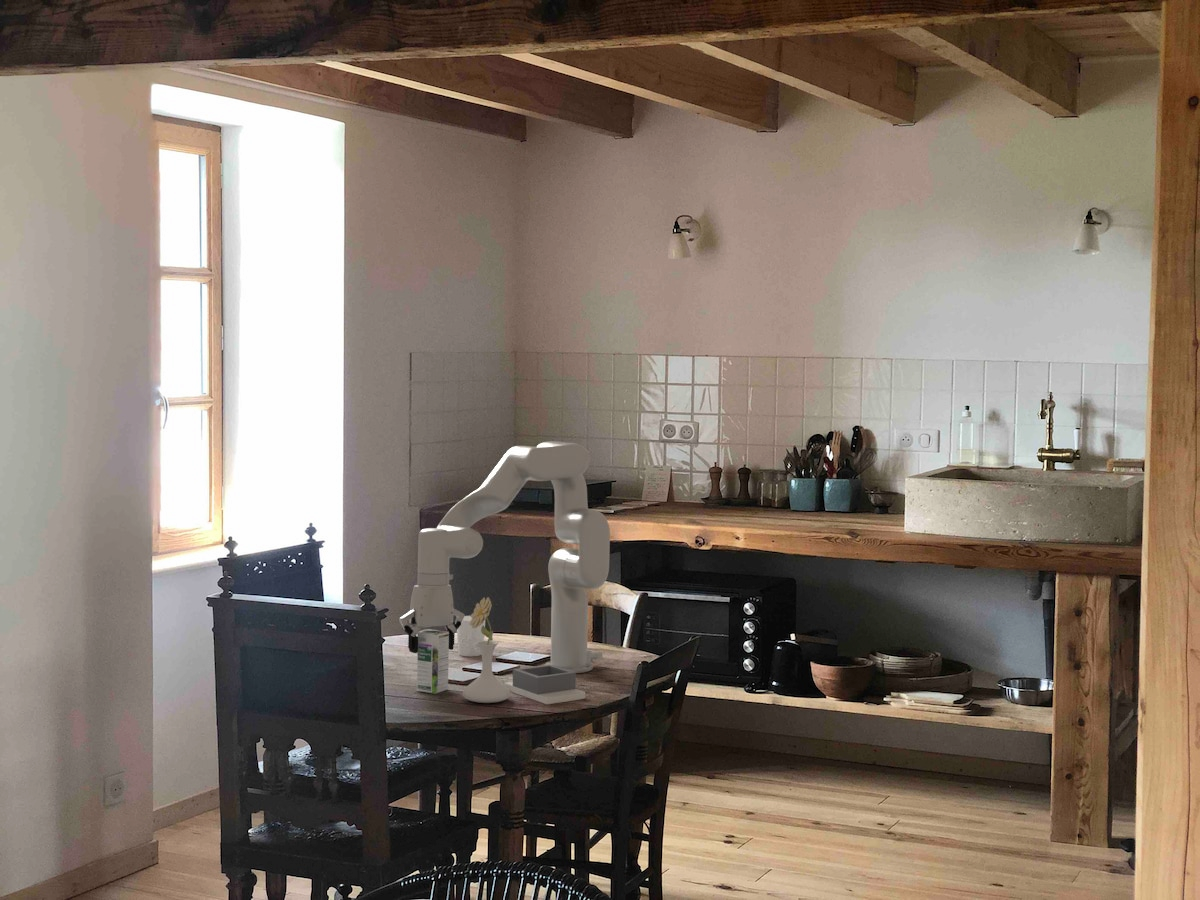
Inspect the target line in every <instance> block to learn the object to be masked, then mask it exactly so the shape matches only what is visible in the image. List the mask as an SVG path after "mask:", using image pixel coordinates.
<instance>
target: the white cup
mask: <svg viewBox="0 0 1200 900" xmlns="http://www.w3.org/2000/svg"><path fill="white" fill-rule="evenodd" d="M472 619H473V618H471V615H465V616H464V618H463V620H462V622H461V625H460V627H459V628H458V629H457V632H456V637H457V638H456V639H457V651H458V652H457V653H458V656H460V657H461V656H462V657H471V658H472V657H480V656H482V654H481V650H480V648H479V646H478V645H477V642H479V641H485V635H484V634H483V633H482V632H481V628H482V626H484V627H485V628H486V620H485V621H484V622H483V624H482V625H480V626H479V627H478V626H477V627H476V628H472V625H470V621H471V620H472Z"/></svg>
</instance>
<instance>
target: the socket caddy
mask: <svg viewBox="0 0 1200 900" xmlns="http://www.w3.org/2000/svg"><path fill="white" fill-rule="evenodd" d="M576 676H577V673H576V672H572V671H569V670H566V669H563V668H560V667H557V666H554V665H545V664H544V665H537V666H528V667H521V668H513V669H512V681H507V682H503V684H504V685H505V686H506V687H507V688H508V689H509V690H510V692H511V693H514V694H517V695H520V696H522V697H525V698H528V699H530V700H533V701H536V702H539V703H542V704H544V705H551V704H558V703H559V704H560V703H565V702H570V701H578V700H584V699H586V692H585V691H582V690H580V689H577V688H576V685H577V683H576V682H577V681H576V678H577V677H576Z"/></svg>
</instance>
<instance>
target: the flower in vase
mask: <svg viewBox="0 0 1200 900" xmlns="http://www.w3.org/2000/svg"><path fill="white" fill-rule="evenodd" d="M492 605H493V604H492V601H491V598H490V597H489V596H487V597H483V598H481V600H480V601H479V603H478V602H477V603H476V604H475V607H474V609H473V613H471V614H470V616H471V618H473V619H472V620H471V621H470V625H472V628H476V627H477V626H478V627H479V626H480V625H482V624H483V622H484V621H485V622H486V621H487V624H488V627H489V630H488V629H487V628H486V626H485V627H484V626H482V628H481V632H482V633H483V634H484V637H486V638H488V639H487V640H484V641H479V642H477V645H478V646H479V648H480V650H481V654H482V655H481V665H482V667H481V672H480V675H478V677H476V679H474V680H472V682H470V683H469V684H468V685H467V686H466V687H465V688H464V689H463V691H462V697H463V698H464V699H466V700H467V701H470V702H475V703H481V704H490V703H491V704H492V703H499V702H503V701H505V700H507V699H510V697H511V696H512V692H511V691H510V690H509V689H508V688H507V687H506V686H505V685H504V682H502V681H501V680H500V679H498V678H497V677H496V676H495V674H494V672H493V664H492V663H493V655H494V651H495V649H496V647H497V645H498V643H499V642H497V641H495V640H493V634H494V630H492V626H491V623H490V621H489V618H488V616H489V615H490V612H491V609H492V607H493V606H492Z"/></svg>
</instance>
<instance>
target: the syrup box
mask: <svg viewBox="0 0 1200 900" xmlns="http://www.w3.org/2000/svg"><path fill="white" fill-rule="evenodd" d="M416 636H417V637H418V652H417V653H416V657H417V658H416V692H423V693H428V694H433V695H435V694H439V693H442V692H445V691H447V690H448V689H449V653H450V652H449V651H450V649H449V631H447V630H446V631H445V630H438V629H430V628H426V629H423V630H419V632H418V633H417V635H416Z"/></svg>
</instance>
